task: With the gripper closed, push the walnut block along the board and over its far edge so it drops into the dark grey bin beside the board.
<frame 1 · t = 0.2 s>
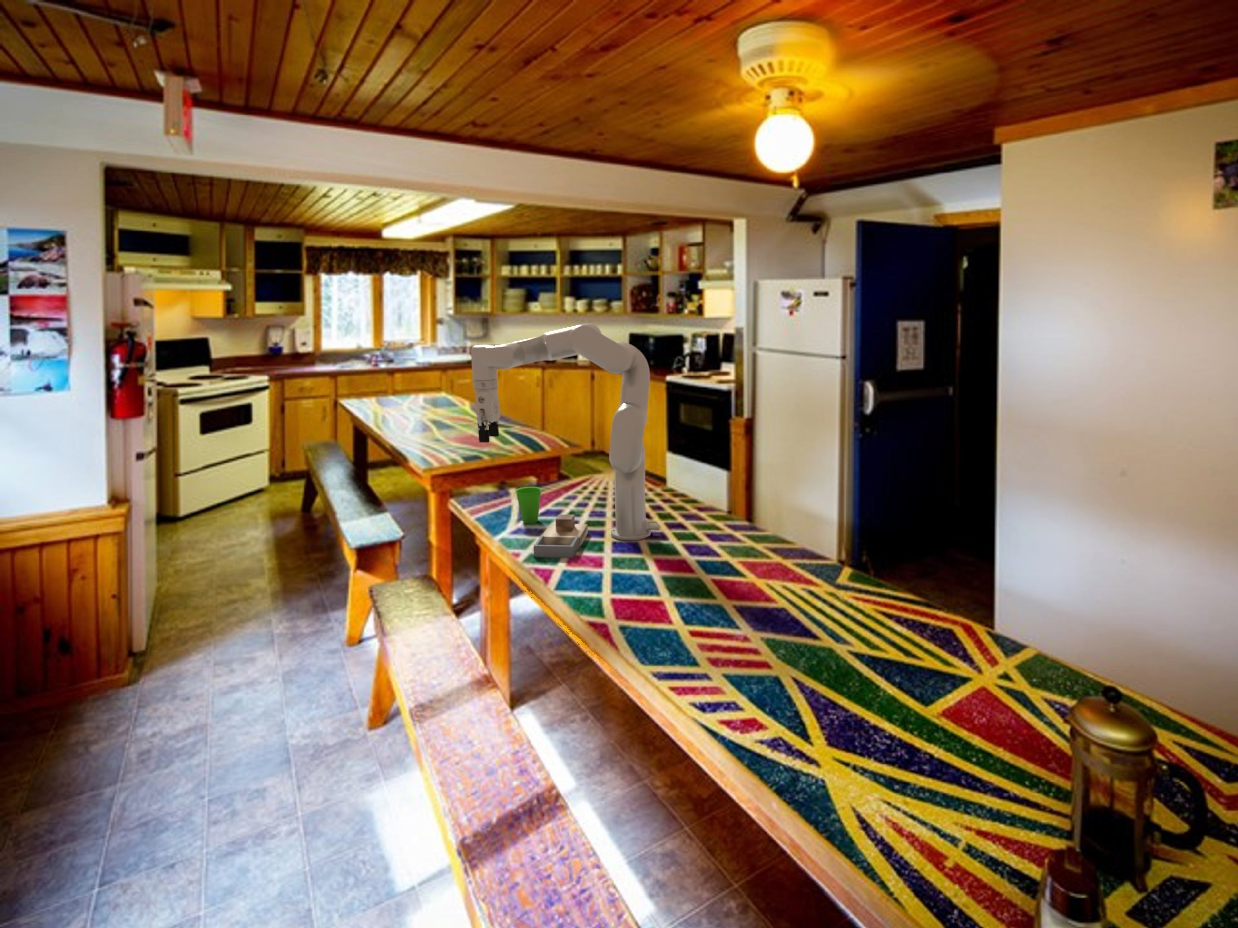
hand: (489, 439, 227), 31 cm above the table, tool pointing down, fingers open, 9 cm apart
cup: (530, 521, 244), on the table
bin: (557, 551, 214), on the table
block: (565, 529, 225), point 3 cm above the table, touching board
board: (565, 539, 225), on the table
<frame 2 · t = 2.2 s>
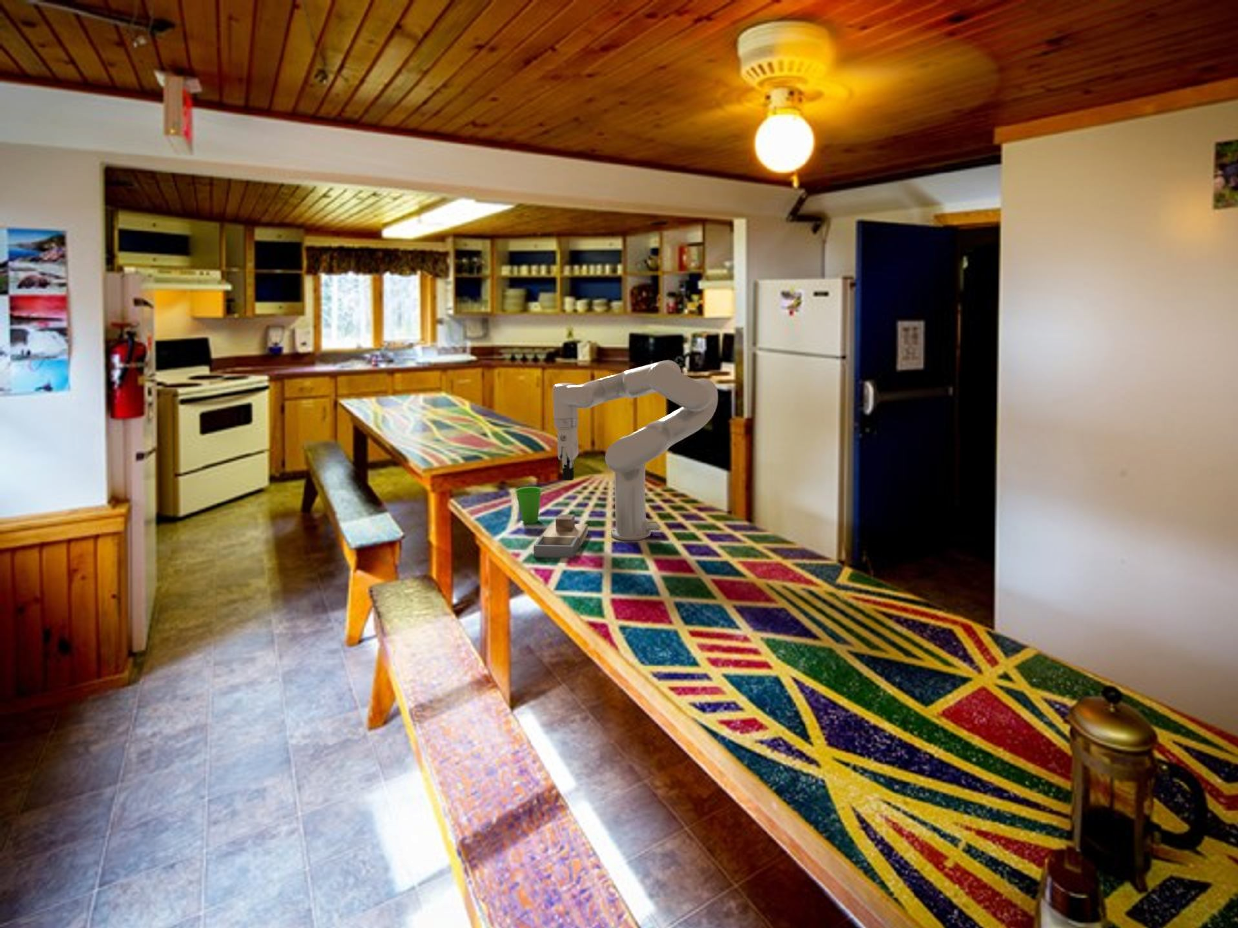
hand: (568, 479, 230), 17 cm above the table, tool pointing down, fingers closed
nothing on the table moved.
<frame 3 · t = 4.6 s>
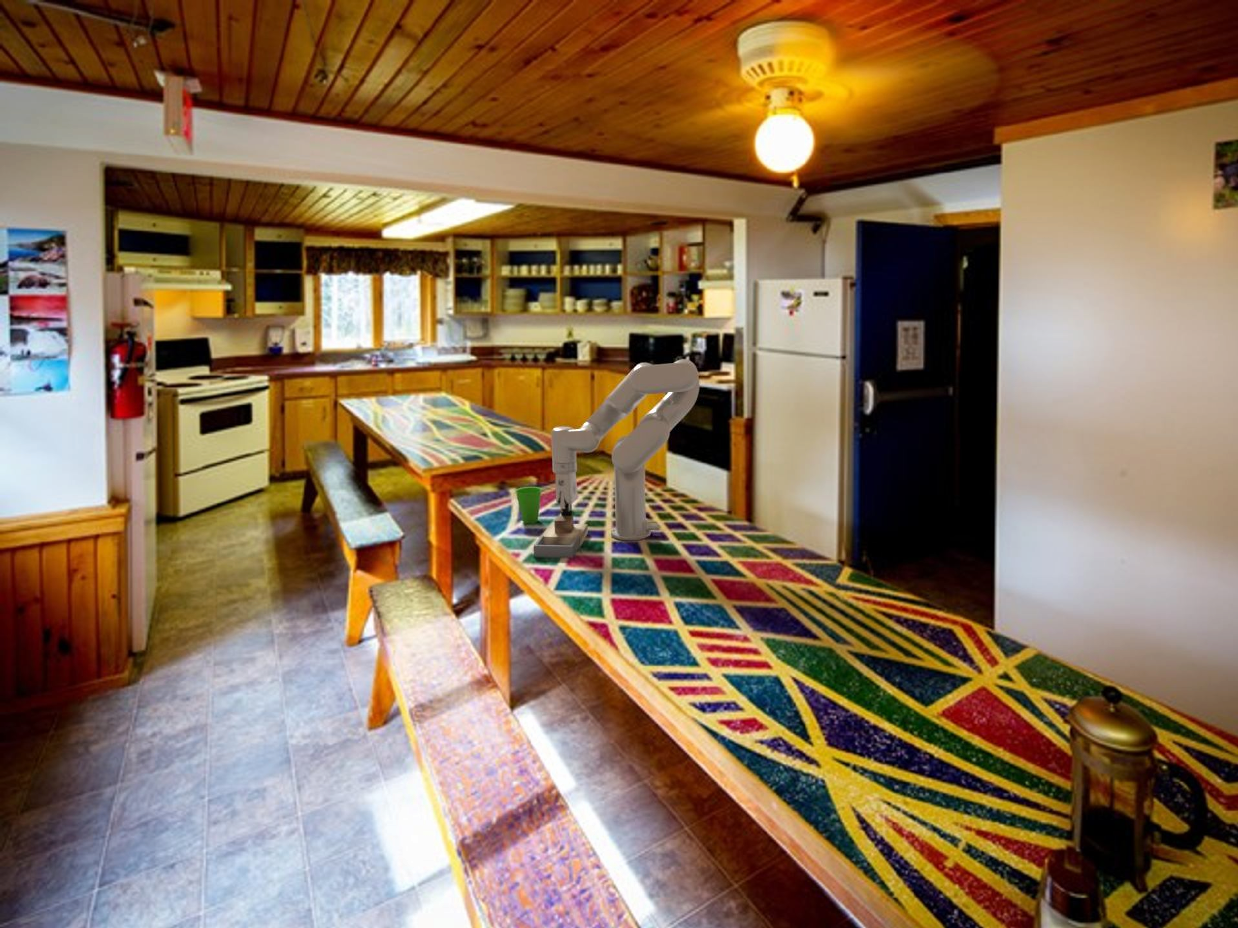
hand: (567, 522, 228), 4 cm above the table, tool pointing down, fingers closed
block: (564, 530, 224), point 3 cm above the table, touching board, gripper
everything else where it was.
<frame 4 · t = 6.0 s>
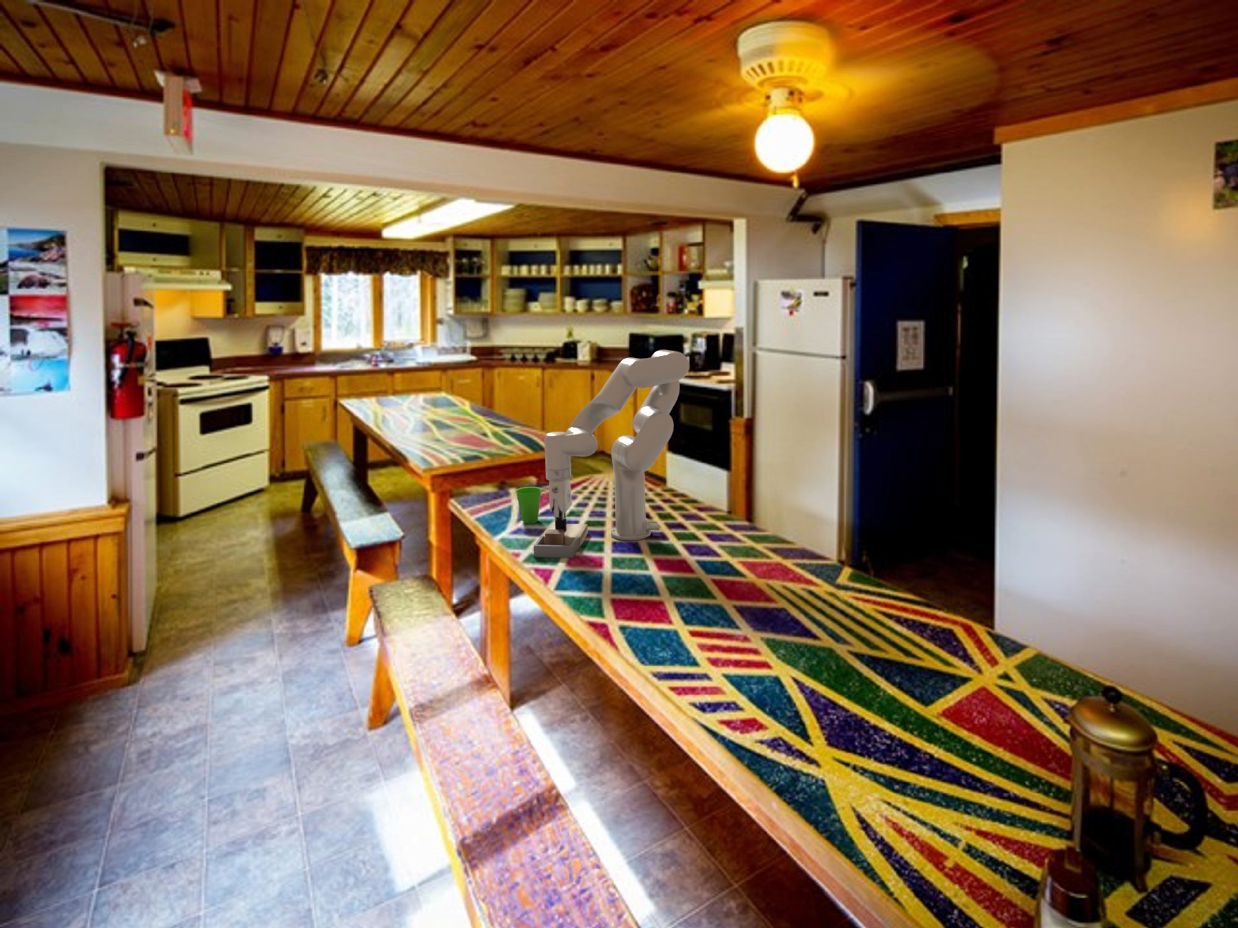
hand: (561, 531, 219), 4 cm above the table, tool pointing down, fingers closed
block: (556, 537, 217), point 3 cm above the table, tilted 90°, touching bin
everything else where it was.
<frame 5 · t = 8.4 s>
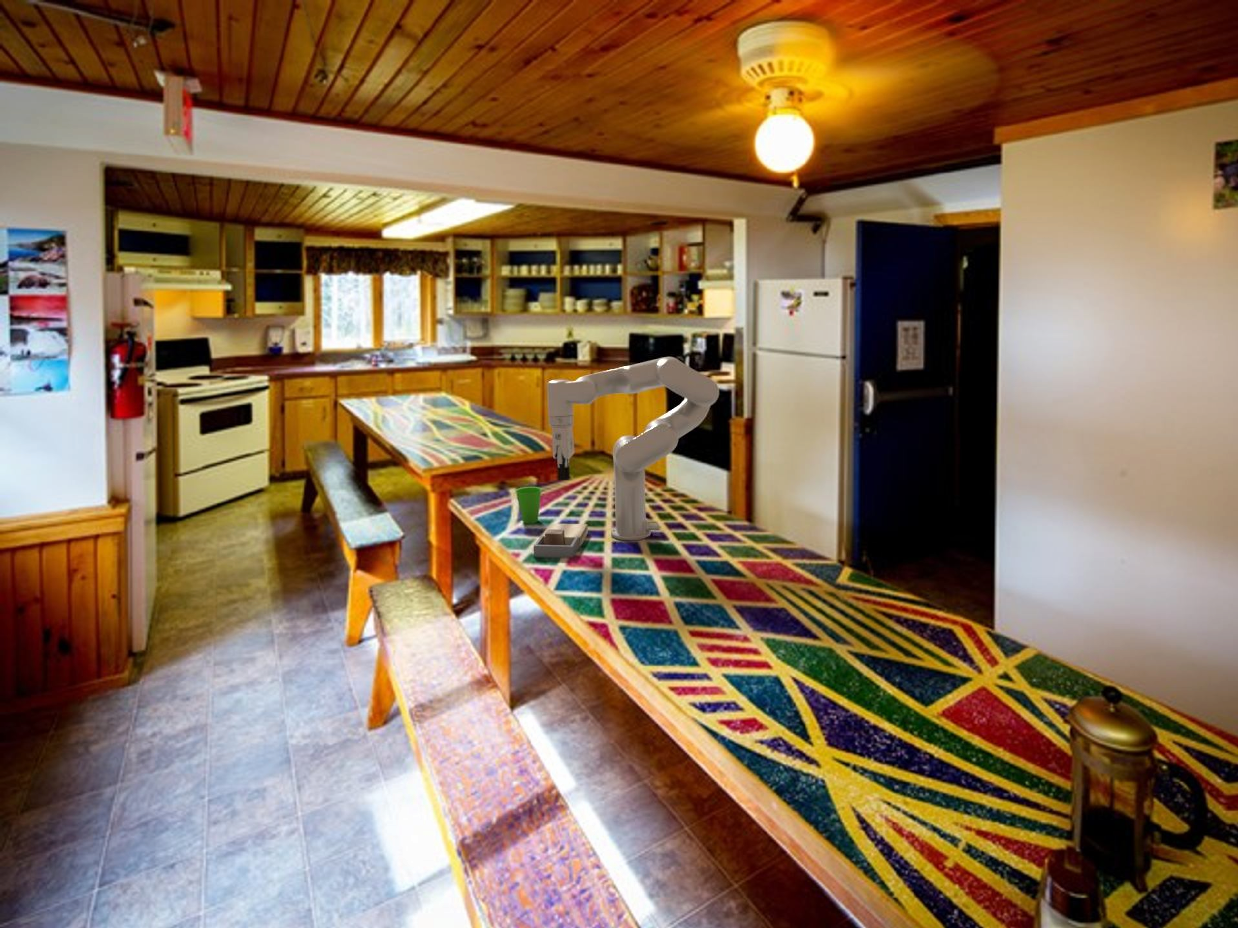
hand: (564, 479, 222), 19 cm above the table, tool pointing down, fingers closed
nothing on the table moved.
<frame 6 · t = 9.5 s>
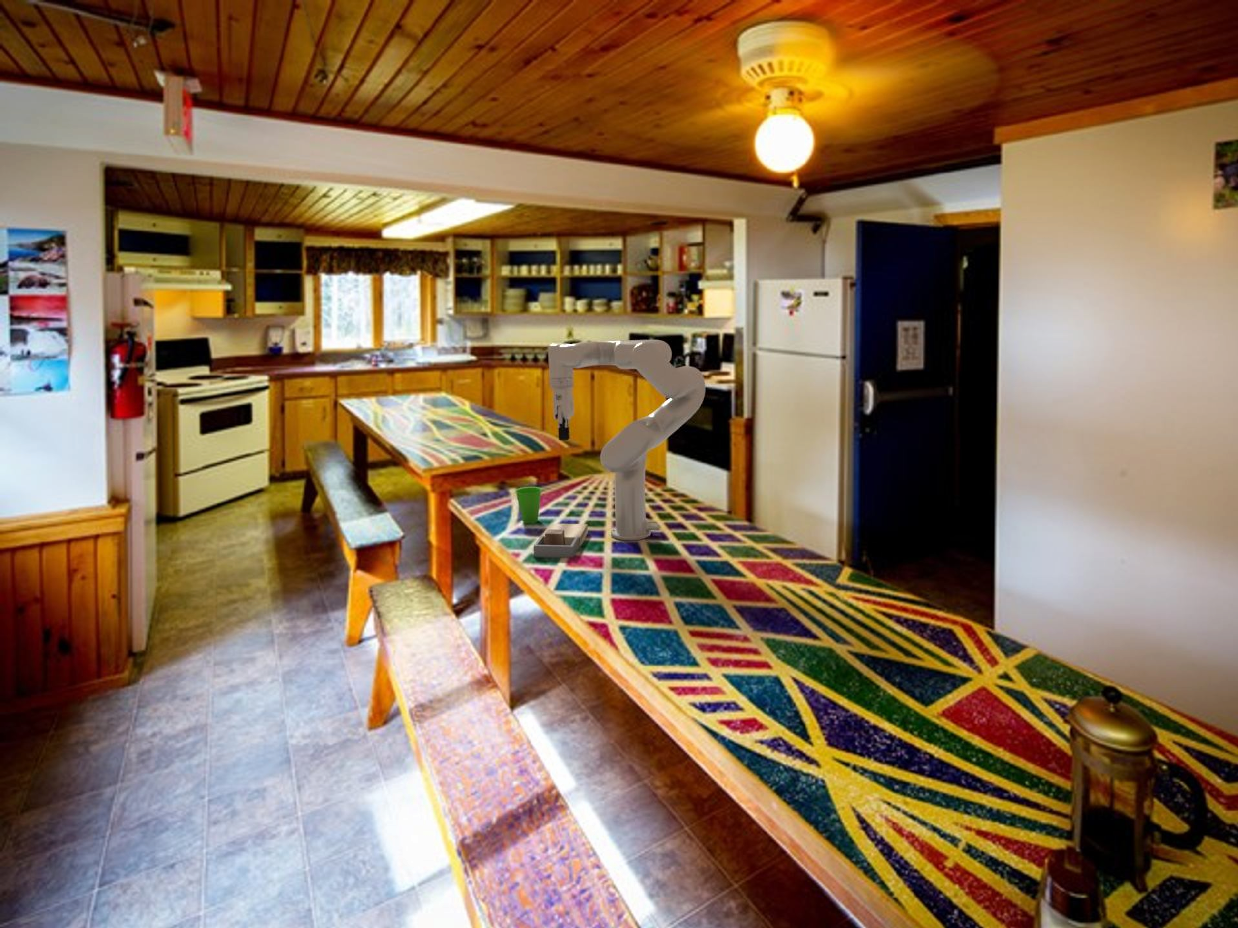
hand: (564, 439, 232), 29 cm above the table, tool pointing down, fingers closed
nothing on the table moved.
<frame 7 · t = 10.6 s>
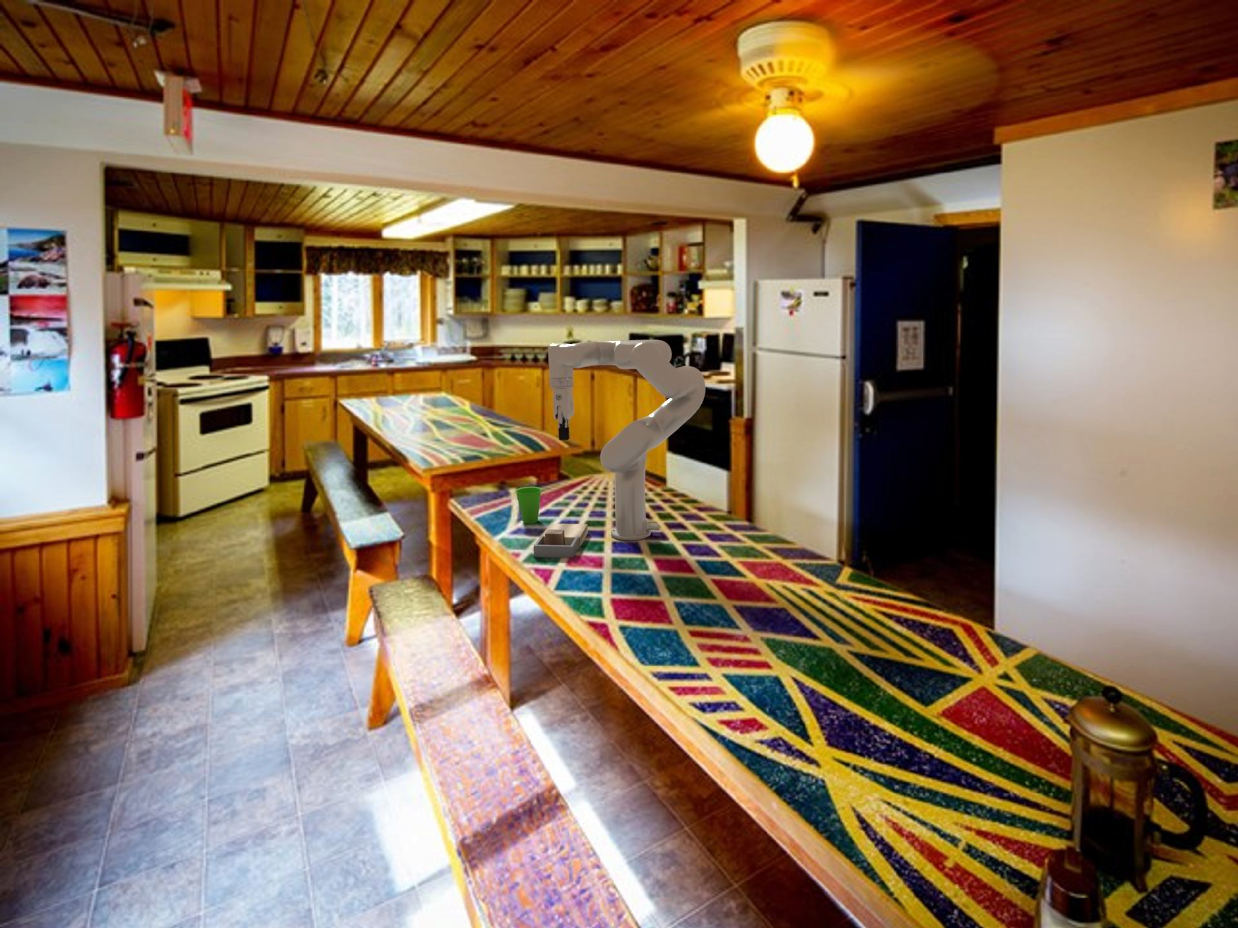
hand: (564, 439, 232), 29 cm above the table, tool pointing down, fingers closed
nothing on the table moved.
at the end: block inside the target area on the bin (4.5 cm from its centre), point 3.1 cm above the bin's base; block touching bin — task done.
